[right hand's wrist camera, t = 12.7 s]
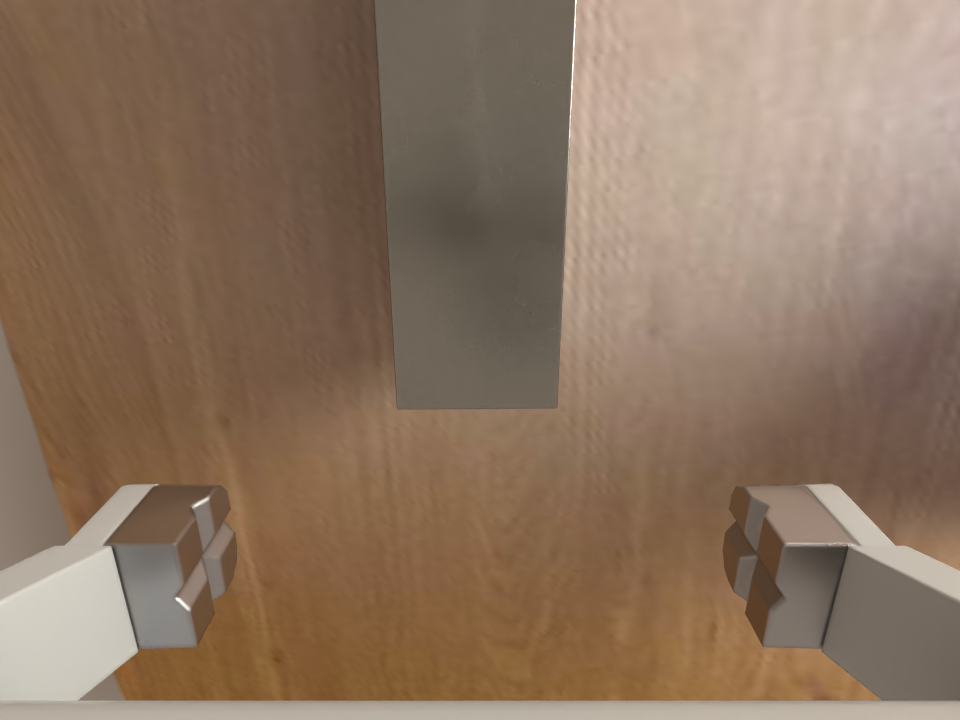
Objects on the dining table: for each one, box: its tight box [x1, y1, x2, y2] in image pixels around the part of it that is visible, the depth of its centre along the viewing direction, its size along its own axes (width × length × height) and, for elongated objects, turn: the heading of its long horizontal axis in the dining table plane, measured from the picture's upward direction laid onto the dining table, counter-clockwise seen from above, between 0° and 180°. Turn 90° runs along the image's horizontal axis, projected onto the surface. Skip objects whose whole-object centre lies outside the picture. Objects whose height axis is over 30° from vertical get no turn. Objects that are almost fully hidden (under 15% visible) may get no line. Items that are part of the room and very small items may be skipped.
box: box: [374, 0, 577, 409], centre depth 25 cm, size 24×6×12 cm, turn 0°
